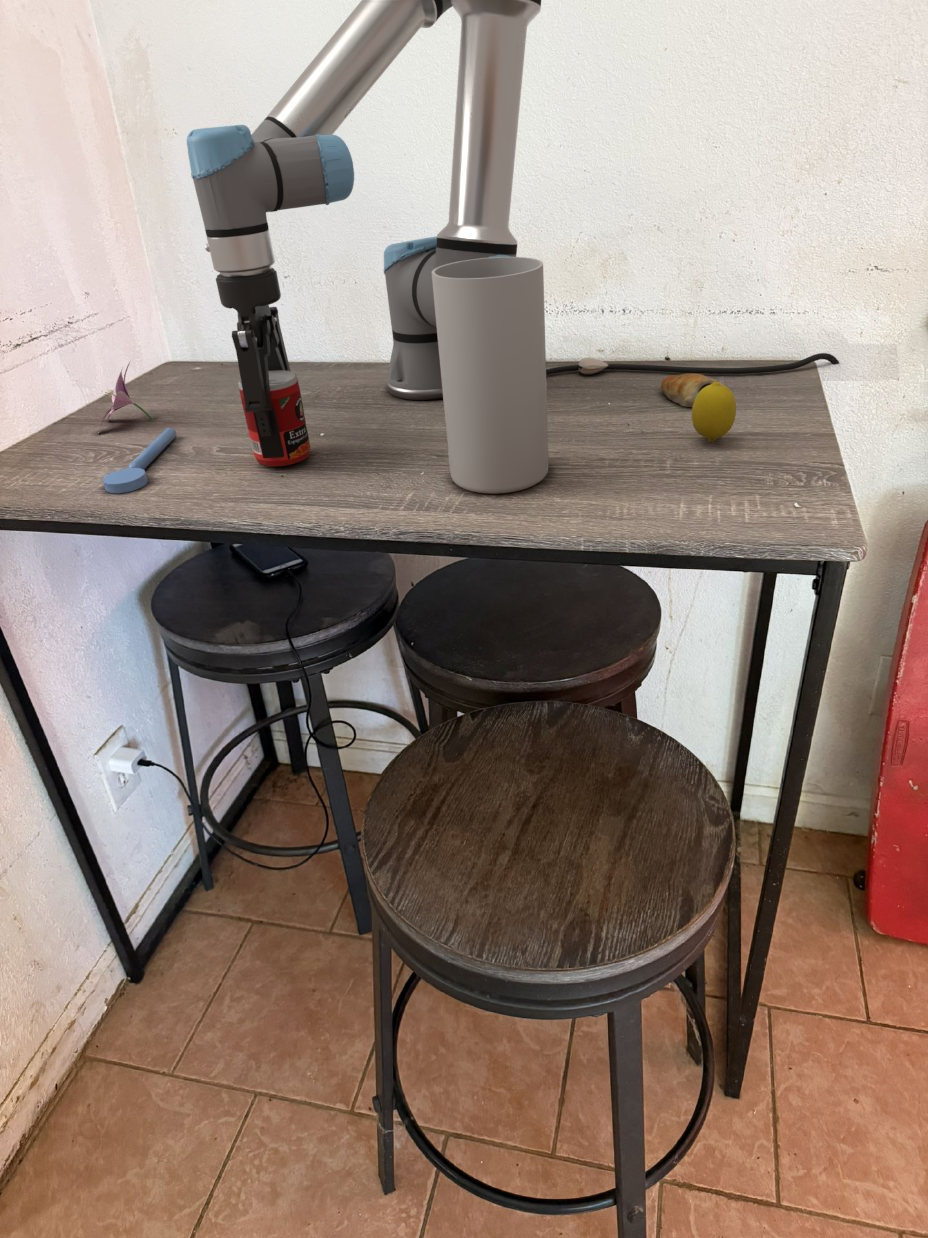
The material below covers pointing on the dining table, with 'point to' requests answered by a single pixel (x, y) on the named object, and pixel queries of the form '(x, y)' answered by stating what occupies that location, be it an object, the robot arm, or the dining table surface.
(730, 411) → the lemon
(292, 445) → the canned food
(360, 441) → the dining table surface
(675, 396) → the pastry
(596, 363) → the seashell
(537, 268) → the cylinder vase
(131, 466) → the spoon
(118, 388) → the lily
